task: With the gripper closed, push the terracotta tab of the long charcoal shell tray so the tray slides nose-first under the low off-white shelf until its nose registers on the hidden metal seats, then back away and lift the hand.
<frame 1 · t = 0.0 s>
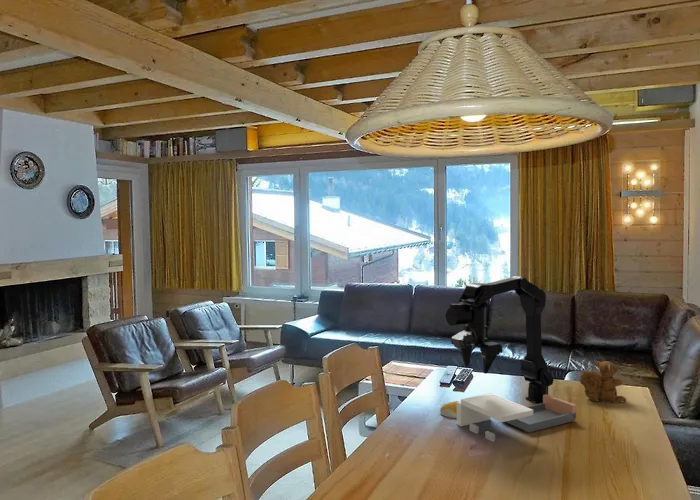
hand: (475, 370, 188), 15 cm above the table, fingers open, 9 cm apart
stuffed squirrel: (601, 399, 203), on the table
shell tray: (538, 412, 182), point 3 cm above the table, slide at 0.0 cm
bread roll: (454, 414, 190), on the table
overhang shelf: (495, 432, 173), on the table
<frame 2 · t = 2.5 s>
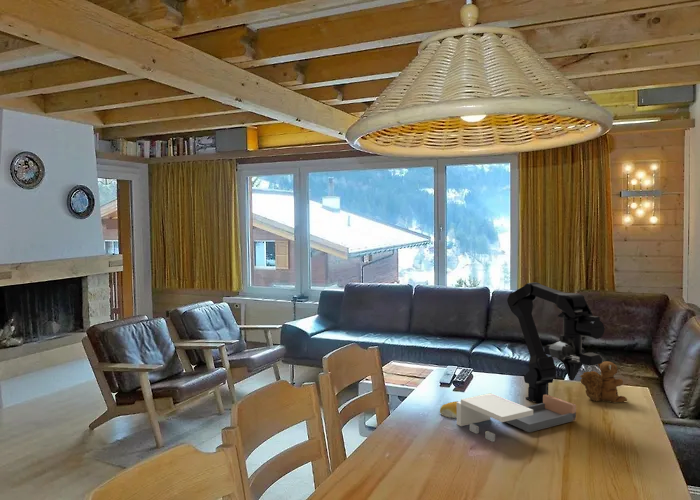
hand: (571, 380, 188), 11 cm above the table, fingers closed
nothing on the table moved.
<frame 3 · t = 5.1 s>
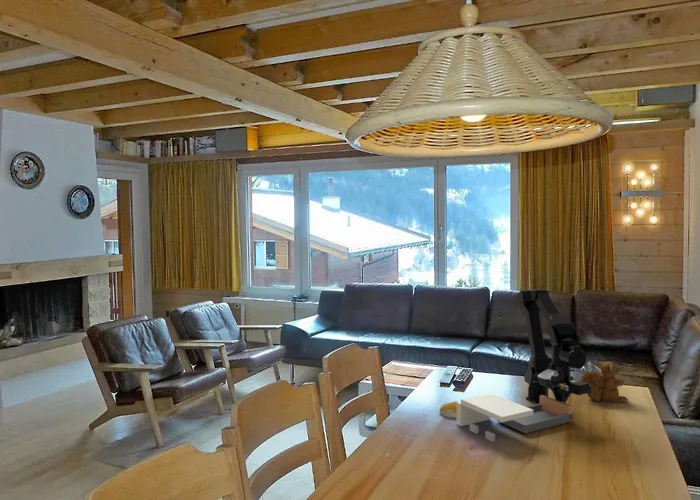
hand: (560, 408, 186), 3 cm above the table, fingers closed
shell tray: (534, 413, 181), point 3 cm above the table, slide at 1.6 cm, touching gripper
everything else where it was.
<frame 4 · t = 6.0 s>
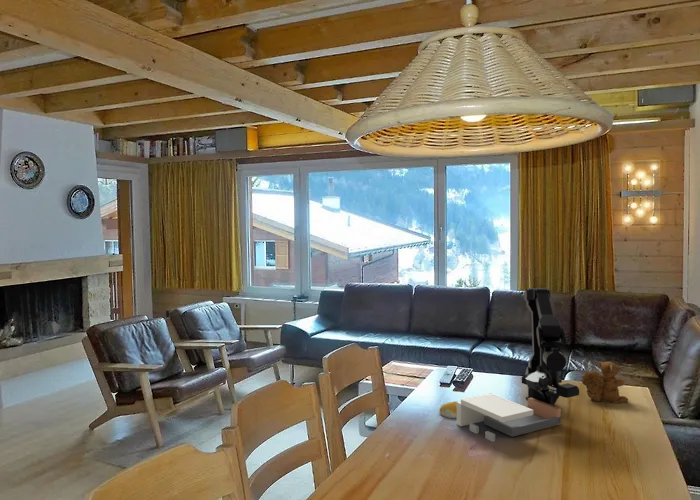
hand: (549, 411, 184), 3 cm above the table, fingers closed
shell tray: (522, 416, 178), point 3 cm above the table, slide at 6.9 cm, touching gripper
everything else where it was.
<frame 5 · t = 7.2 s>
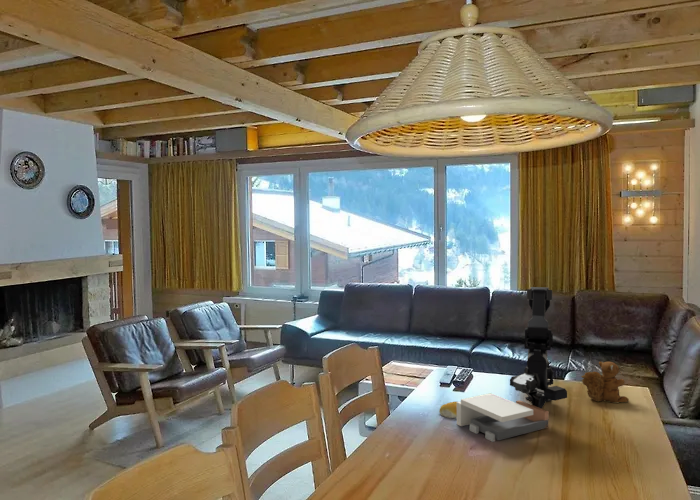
hand: (537, 414, 181), 3 cm above the table, fingers closed, pressing on shell tray
shell tray: (509, 419, 176), point 3 cm above the table, slide at 12.0 cm, touching gripper
everything else where it was.
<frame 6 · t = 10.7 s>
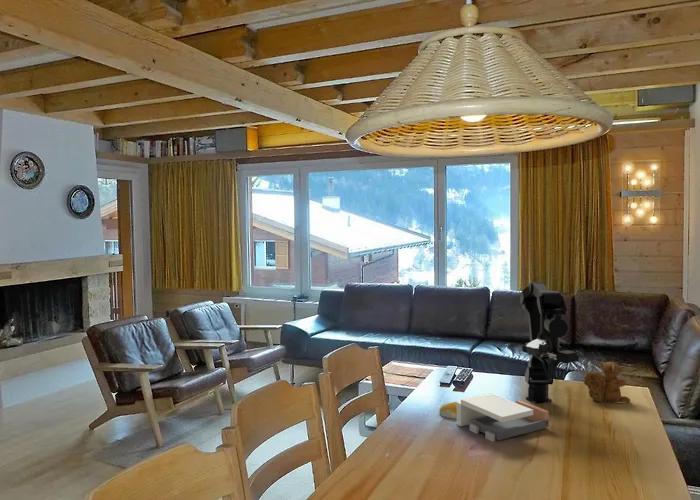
hand: (549, 378, 187), 12 cm above the table, fingers closed
shell tray: (509, 419, 176), point 3 cm above the table, slide at 12.0 cm
at the end: shell tray slide at 12.0 cm; the gripper is holding nothing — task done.
